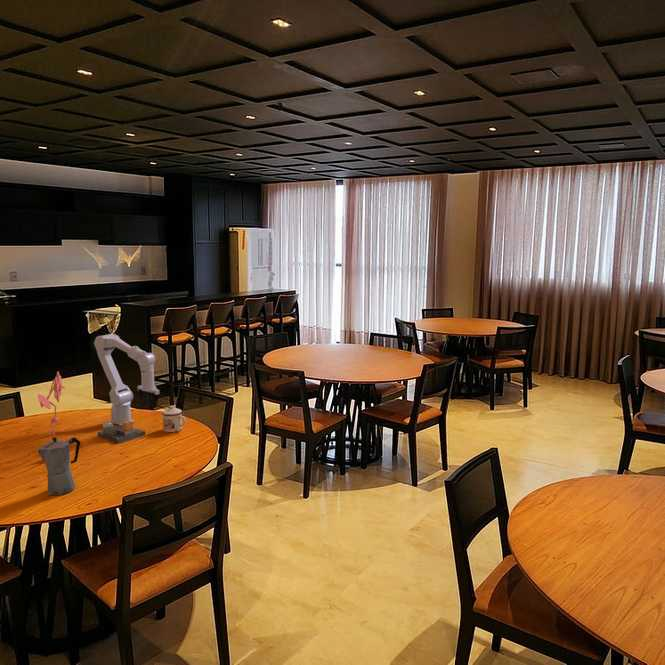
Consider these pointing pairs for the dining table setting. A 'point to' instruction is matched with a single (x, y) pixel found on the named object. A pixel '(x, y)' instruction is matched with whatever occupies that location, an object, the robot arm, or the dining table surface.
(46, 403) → the pink orchid stem
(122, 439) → the grey base plate
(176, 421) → the teacup with lid
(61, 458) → the moka pot
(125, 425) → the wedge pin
